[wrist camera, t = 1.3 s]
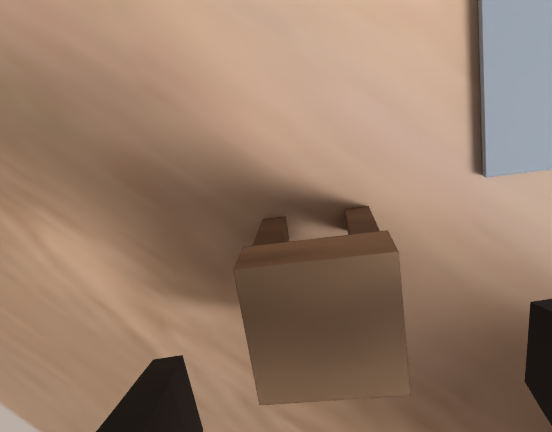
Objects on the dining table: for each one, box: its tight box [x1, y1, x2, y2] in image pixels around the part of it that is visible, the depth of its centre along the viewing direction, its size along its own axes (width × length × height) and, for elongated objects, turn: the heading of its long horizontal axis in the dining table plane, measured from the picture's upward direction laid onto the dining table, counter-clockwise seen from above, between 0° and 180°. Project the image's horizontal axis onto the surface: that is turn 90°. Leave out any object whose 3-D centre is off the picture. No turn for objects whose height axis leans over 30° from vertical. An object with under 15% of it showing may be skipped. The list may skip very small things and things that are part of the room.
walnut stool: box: [233, 206, 410, 405], centre depth 17 cm, size 5×5×6 cm
